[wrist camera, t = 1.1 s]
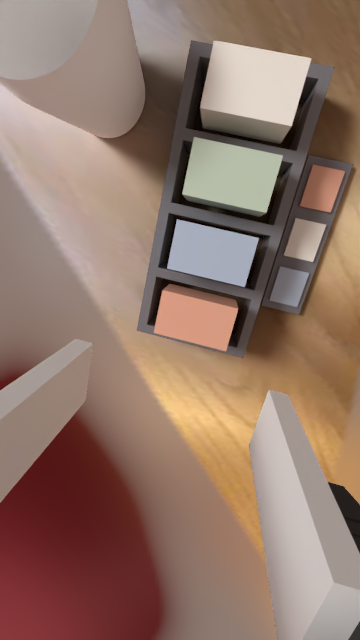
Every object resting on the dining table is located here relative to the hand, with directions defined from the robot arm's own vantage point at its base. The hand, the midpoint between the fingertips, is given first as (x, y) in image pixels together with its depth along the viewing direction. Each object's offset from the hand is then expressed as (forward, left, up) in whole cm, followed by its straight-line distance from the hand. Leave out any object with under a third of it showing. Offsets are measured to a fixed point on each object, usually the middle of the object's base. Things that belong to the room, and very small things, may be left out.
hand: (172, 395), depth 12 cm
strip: (-8, +8, -18) cm, 21 cm away
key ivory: (-16, 0, -15) cm, 22 cm away
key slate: (-5, 0, -15) cm, 16 cm away
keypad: (-8, 0, -18) cm, 19 cm away
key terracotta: (0, 0, -15) cm, 15 cm away
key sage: (-11, 0, -15) cm, 18 cm away
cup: (-16, -12, -18) cm, 27 cm away
